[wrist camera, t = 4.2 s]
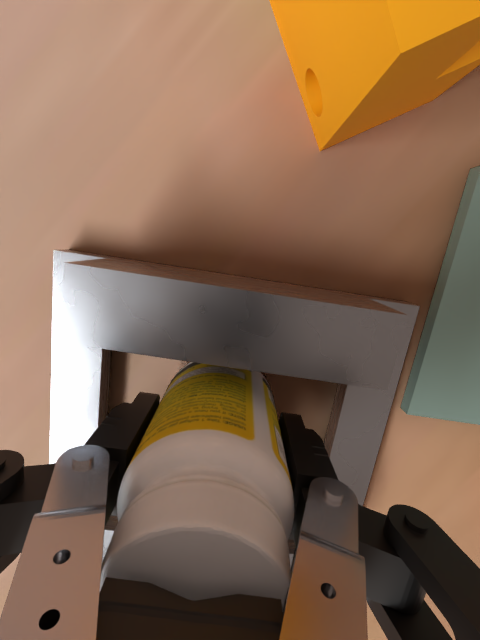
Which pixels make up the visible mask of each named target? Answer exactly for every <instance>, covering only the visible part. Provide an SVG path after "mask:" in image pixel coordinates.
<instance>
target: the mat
mask: <svg viewBox="0 0 480 640" xmlns="http://www.w3.org/2000/svg"><path fill="white" fill-rule="evenodd" d="M400 408H401V409H402V410H403V411H404V412H405V413H406V414H409V415H415V416H422V417H429V418H436V419H443V420H450V421H457V422H464V423H471V424H478V425H480V166H477V167H474V168H471V169H470V171H469V175H468V178H467V182H466V185H465V188H464V192H463V195H462V199H461V202H460V206H459V209H458V212H457V216H456V219H455V223H454V226H453V229H452V233H451V236H450V240H449V243H448V247H447V250H446V253H445V257H444V260H443V264H442V267H441V270H440V274H439V277H438V281H437V284H436V288H435V291H434V294H433V298H432V301H431V305H430V308H429V311H428V315H427V318H426V322H425V325H424V329H423V332H422V335H421V339H420V342H419V346H418V349H417V352H416V356H415V359H414V363H413V366H412V370H411V373H410V376H409V380H408V383H407V387H406V390H405V393H404V397H403V400H402V404H401V407H400Z"/></svg>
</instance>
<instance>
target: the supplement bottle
mask: <svg viewBox="0 0 480 640" xmlns="http://www.w3.org/2000/svg"><path fill="white" fill-rule="evenodd" d="M117 517H118V524H117V526H116V528H115V530H114V533H113V535H112V539H111V542H110V544H109V546H108V549H107V552H106V554H105V557H104V559H103V562H102V568H101V580H100V590H101V588H102V586H103V583H104V581H105V578H106V577H110V578H118V579H125V580H133V581H141V582H149V583H152V584H154V585H156V586H159V587H161V588H163V589H165V590H168V591H170V592H172V593H175V594H177V595H179V596H182V597H184V598H186V599H189V600H193V601H196V600H203V599H209V598H215V597H222V596H228V595H234V594H244V595H252V596H260V597H268V598H276V599H281V603H282V612H283V608H284V604H285V599H286V595H287V591H288V587H289V582H290V577H291V567H290V558H289V547H288V542H287V541H288V539H289V536H290V534H291V530H292V526H293V521H294V496H293V490H292V484H291V480H290V475H289V470H288V466H287V461H286V456H285V451H284V446H283V441H282V436H281V431H280V427H279V422H278V417H277V412H276V407H275V402H274V398H273V394H272V391H271V388H270V386H269V384H268V382H267V380H266V379H265V377H264V376H263V375H262V374H261V372H258V371H251V370H244V369H237V368H230V367H223V366H217V365H210V364H203V363H196V362H190V363H188V364H187V365H185V366H184V367H183V368H182V369H181V370H179V372H178V373H177V374H176V375H175V377H174V378H173V379H172V381H171V382H170V384H169V386H168V388H167V390H166V392H165V394H164V396H163V398H162V400H161V402H160V404H159V406H158V408H157V410H156V412H155V414H154V416H153V418H152V420H151V422H150V424H149V426H148V428H147V430H146V432H145V434H144V436H143V438H142V440H141V442H140V444H139V446H138V448H137V450H136V452H135V454H134V456H133V458H132V460H131V462H130V464H129V466H128V468H127V470H126V472H125V474H124V476H123V479H122V482H121V485H120V489H119V493H118V499H117Z"/></svg>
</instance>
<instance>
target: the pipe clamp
mask: <svg viewBox="0 0 480 640" xmlns="http://www.w3.org/2000/svg"><path fill="white" fill-rule="evenodd" d="M269 1H270V4H271V7H272V10H273V13H274V16H275V19H276V22H277V25H278V27H279V30H280V33H281V36H282V39H283V42H284V45H285V48H286V51H287V54H288V57H289V60H290V63H291V66H292V69H293V72H294V75H295V78H296V81H297V84H298V87H299V90H300V93H301V96H302V99H303V102H304V105H305V108H306V111H307V114H308V117H309V120H310V123H311V126H312V129H313V132H314V135H315V138H316V141H317V144H318V147H319V150H320V151H322V150H324V149H326V148H328V147H331V146H333V145H335V144H337V143H339V142H342V141H344V140H346V139H348V138H351V137H353V136H355V135H357V134H359V133H362V132H364V131H366V130H368V129H370V128H373V127H375V126H377V125H379V124H382V123H384V122H386V121H388V120H390V119H393V118H395V117H397V116H399V115H401V114H404V113H406V112H408V111H410V110H413V109H415V108H417V107H419V106H421V105H424V104H426V103H428V102H430V101H432V100H434V99H435V98H437V97H438V96H439V95H440V94H442V93H443V92H444V91H446V90H447V89H448V88H450V87H451V86H452V85H454V84H455V83H456V82H458V81H459V80H460V79H461V78H463V77H464V76H465V75H467V74H468V73H469V72H471V71H472V70H473V69H475V68H476V67H477V66H479V65H480V0H269Z"/></svg>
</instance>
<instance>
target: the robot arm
mask: <svg viewBox="0 0 480 640" xmlns="http://www.w3.org/2000/svg"><path fill="white" fill-rule="evenodd" d="M159 400H160V396H159V394H151V393H144V392H140V393H139V394H138V395H137V397H136V398H135V400H134V401H133V402H132V404H130V403H122V404H120V405H118V406H116V407H115V408H113V409H112V410H111V411H110V413H109V414H108V415H107V417H106V418H105V419H104V420H103V422H102V423H101V425H99V427H98V428H97V429H96V430H95V432H94V433H93V434H92V436H91V437H90V438H89V439H88V441H87V442H86V443H85V444H84V445H81V446H77V447H74V448H71V449H69V450H67V451H65V452H64V453H62V454H61V455H60V456H59V458H58V459H57V461H56V463H53V464H47V465H36V466H25V467H24V458H23V456H22V455H21V454H20V453H18V452H15V451H11V450H0V573H1V572H2V571H3V570H4V569H5V568H6V567H7V566H8V565H9V564H11V563H12V562H13V561H14V560H15V559H16V557H17V556H18V555H19V554H20V553H21V556H20V559H19V562H18V565H17V568H16V571H15V574H14V577H13V580H12V584H11V587H10V590H9V593H8V596H7V599H6V602H5V605H4V608H3V611H2V614H1V618H0V640H368V633H367V603H368V605H369V607H370V608H371V610H372V612H373V614H374V616H375V617H376V619H377V621H378V623H379V624H380V626H381V628H382V630H383V632H384V633H385V635H386V637H387V639H388V640H453V639H452V638H451V637H450V635H449V634H448V632H447V631H446V630H445V628H444V627H443V626H442V624H441V623H440V621H439V620H438V619H437V617H436V616H435V614H434V613H433V612H432V610H431V609H430V608H429V606H428V605H427V603H426V602H425V601H424V597H425V594H426V593H427V594H428V595H429V597H430V598H431V599H432V601H433V602H434V603H435V605H436V606H437V607H438V609H439V610H440V612H441V613H442V614H443V616H444V617H445V618H446V620H447V621H448V623H449V624H450V626H451V628H452V630H453V632H454V635H455V639H456V640H480V569H479V568H478V567H477V565H476V564H475V563H474V562H473V561H472V560H471V559H470V558H469V557H468V556H467V555H466V554H465V553H464V552H463V551H462V550H461V549H460V548H459V547H458V546H457V545H456V543H455V542H454V541H453V540H452V539H451V538H450V537H449V536H448V535H447V534H446V533H445V532H444V531H443V530H442V529H441V528H440V527H439V526H438V525H437V524H436V523H435V522H434V521H433V520H432V519H431V518H430V517H429V516H427V515H426V514H424V513H423V512H421V511H419V510H417V509H415V508H413V507H410V506H407V505H394V506H392V507H390V509H389V511H388V514H387V516H386V515H384V514H381V513H378V512H376V511H373V510H370V509H368V508H366V507H363V506H361V505H360V504H358V500H357V497H356V495H355V493H354V492H353V491H352V490H351V489H350V488H349V487H348V486H347V485H345V484H344V483H342V482H340V481H339V480H338V478H337V475H336V473H335V470H334V468H333V465H332V463H331V460H330V458H329V457H328V453H327V451H326V449H325V446H324V443H323V441H322V438H321V437H320V436H319V435H318V434H317V433H316V432H315V431H314V430H312V429H305V426H304V423H303V420H302V417H301V415H297V414H290V413H283V412H282V413H281V415H280V419H279V427H280V431H281V436H282V441H283V446H284V451H285V456H286V461H287V466H288V470H289V475H290V480H291V484H292V490H293V496H294V521H293V526H292V530H291V534H290V536H289V539H291V540H294V542H295V551H294V555H293V559H292V564H291V577H290V582H289V587H288V591H287V595H286V599H285V604H284V608H283V612H282V603H281V599H276V598H268V597H260V596H252V595H244V594H234V595H228V596H222V597H215V598H209V599H203V600H196V601H193V600H189V599H186V598H184V597H182V596H179V595H177V594H175V593H172V592H170V591H168V590H165V589H163V588H161V587H159V586H156V585H154V584H152V583H149V582H141V581H133V580H125V579H118V578H110V577H106V578H105V581H104V583H103V586H102V588H101V590H100V580H101V568H102V559H103V545H104V531H105V526H106V524H107V522H108V520H109V518H110V516H111V515H113V516H117V499H118V493H119V489H120V485H121V482H122V479H123V476H124V474H125V472H126V470H127V468H128V466H129V464H130V462H131V460H132V458H133V456H134V454H135V452H136V450H137V448H138V446H139V444H140V442H141V440H142V438H143V436H144V434H145V432H146V430H147V428H148V426H149V424H150V422H151V420H152V418H153V416H154V414H155V412H156V410H157V408H158V406H159ZM366 600H367V602H366Z"/></svg>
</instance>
